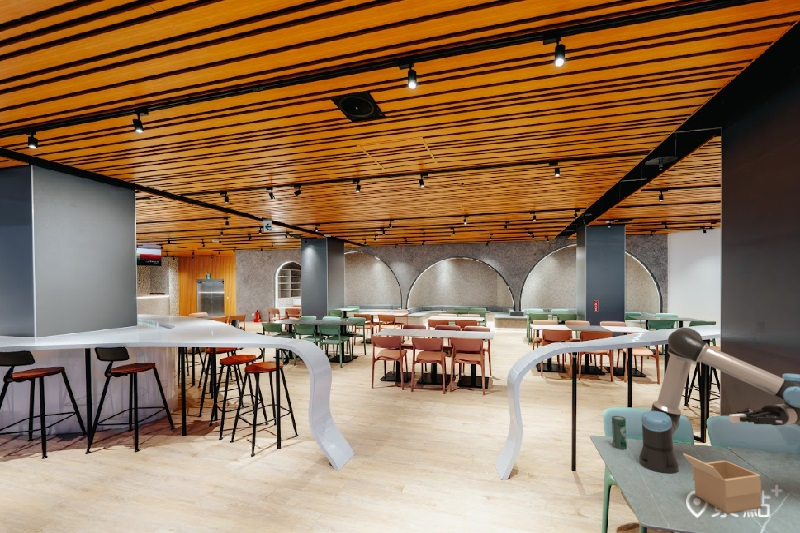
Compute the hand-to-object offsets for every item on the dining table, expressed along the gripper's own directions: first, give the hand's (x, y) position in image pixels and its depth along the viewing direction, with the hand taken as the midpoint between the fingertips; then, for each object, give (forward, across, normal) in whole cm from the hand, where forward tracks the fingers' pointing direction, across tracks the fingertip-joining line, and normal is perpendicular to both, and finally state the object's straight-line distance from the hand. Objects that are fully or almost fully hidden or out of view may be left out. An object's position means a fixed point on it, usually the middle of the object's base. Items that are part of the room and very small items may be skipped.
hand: (731, 418), depth 149 cm
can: (+5, +52, -33) cm, 62 cm away
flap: (+14, 0, -17) cm, 22 cm away
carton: (+4, 0, -31) cm, 32 cm away
